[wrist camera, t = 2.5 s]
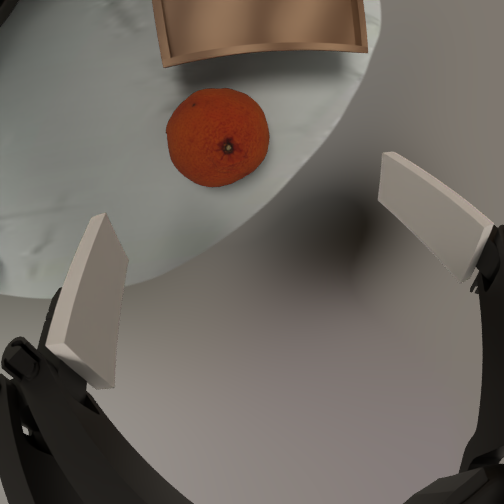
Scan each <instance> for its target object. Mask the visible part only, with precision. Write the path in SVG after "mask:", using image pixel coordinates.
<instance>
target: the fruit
mask: <svg viewBox="0 0 504 504" xmlns="http://www.w3.org/2000/svg"><path fill="white" fill-rule="evenodd" d="M166 133H167V140H168V148H169V153H170V157H171V160H172V162H173V164H174V166H175V167H176V168H177V169H178V171H179V172H180V173H182V174H183V175H184V176H185V177H187V178H188V179H190V180H191V181H193V182H194V183H197V184H199V185H202V186H206V187H220V186H224V185H229V184H232V183H234V182H236V181H238V180H240V179H242V178H243V177H245V176H247V175H249V174H250V173H251V172H253V171H254V170H255V169H256V168H257V167H258V166H259V165H260V164H261V162H262V161H263V160H264V158H265V156H266V154H267V151H268V145H269V138H270V137H269V130H268V125H267V121H266V118H265V115H264V112H263V111H262V109H261V108H260V106H259V105H258V104H257V103H256V102H255V101H254V100H253V99H252V98H251V97H249V96H248V95H246V94H244V93H242V92H239V91H236V90H232V89H229V88H222V89H213V88H211V89H203V90H199V91H197V92H195V93H193V94H192V95H190V96H189V97H188V98H187V99H186V100H184V101H183V102H182V103H181V104H180V105H179V106H178V107H177V108H176V110H175V111H174V112H173V114H172V116H171V118H170V119H169V121H168V124H167V127H166Z"/></svg>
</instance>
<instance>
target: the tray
mask: <svg viewBox="0 0 504 504" xmlns="http://www.w3.org/2000/svg"><path fill="white" fill-rule="evenodd" d="M152 4H153V10H154V17H155V23H156V29H157V35H158V41H159V47H160V52H161V58H162V63H163V68H167V67H171V66H176V65H180V64H184V63H189V62H194V61H199V60H204V59H210V58H216V57H222V56H229V55H237V54H246V53H256V52H269V51H292V50H318V51H340V52H354V53H368V43H367V31H366V21H365V12H364V4H363V0H152Z"/></svg>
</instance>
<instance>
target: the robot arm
mask: <svg viewBox="0 0 504 504" xmlns="http://www.w3.org/2000/svg"><path fill="white" fill-rule="evenodd" d="M18 1H19V0H0V26H1V25H2V24H3V22H4V21H5V20H6V18H7V17H8V16H9V14H10V13H11V12H12V10H13V9H14V7H15V6H16V4H17V2H18ZM378 201H380V203H382V204H383V205H384V206H385V207H386V208H387V209H388V210H389V211H390V212H391V213H393V214H394V215H395V216H396V217H397V218H398V219H399V220H400V221H401V222H402V223H403V224H404V225H405V226H406V227H407V228H408V229H410V231H411V232H412V233H413V234H414V235H415V236H416V237H417V238H418V239H419V240H420V241H421V242H422V243H423V244H424V245H425V246H426V247H427V248H428V249H429V250H430V251H431V252H432V253H433V254H434V255H435V256H436V257H437V258H438V260H440V262H441V263H442V264H443V265H444V266H445V267H446V268H447V269H448V271H449V272H450V273H451V274H452V275H453V276H454V277H455V279H456V280H457V281H458V282H459V283H462V282H464V281H465V280H468V279H469V278H470V277H471V275H472V273H473V271H474V269H475V267H477V269H478V270H479V273H478V275H477V277H476V279H475V280H474V283H473V284H472V286H471V288H470V292H473V290H474V288H475V286H478V288H477V290H476V291H475V293H476V294H479V299H480V310H481V322H482V342H483V343H482V345H483V364H482V387H481V399H480V408H479V416H478V424H477V428H476V432H475V434H474V435H473V437H472V438H471V439H470V441H469V442H468V444H467V446H466V448H465V451H464V454H463V458H462V463H461V466H460V470H459V473H458V474H456V475H453V476H449V477H445V478H439V479H437V480H436V481H434V482H433V483H431V484H430V485H428V486H427V487H425V488H424V489H422V490H421V491H419V492H417V493H415V494H414V495H413V496H412V497H410V498H409V499H408V500H407V501H406V502H405V503H403V504H504V464H499V462H500V461H501V459H502V458H503V457H504V225H500V226H499V228H497V227H496V226H495V225H494V223H493V222H492V221H490V220H489V219H488V218H487V217H486V216H485V215H483V214H482V213H481V212H480V211H479V210H477V209H476V208H475V207H474V206H473V205H471V204H470V203H469V202H468V201H466V200H465V199H464V198H462V197H461V196H460V195H458V194H457V193H456V192H454V191H453V190H452V189H450V188H449V187H448V186H446V185H445V184H443V183H442V182H440V181H439V180H438V179H436V178H435V177H433V176H432V175H430V174H429V173H427V172H426V171H424V170H423V169H421V168H420V167H418V166H417V165H415V164H414V163H412V162H410V161H409V160H407V159H405V158H404V157H402V156H400V155H399V154H397V153H395V152H384V153H382V165H381V176H380V186H379V194H378ZM128 261H129V260H128V258H127V256H126V254H125V252H124V250H123V248H122V246H121V244H120V242H119V240H118V237H117V235H116V233H115V231H114V229H113V227H112V225H111V223H110V220H109V218H108V216H107V214H106V213H103V214H100V215H97V216H94V217H91V220H90V222H89V224H88V226H87V228H86V230H85V232H84V235H83V237H82V239H81V241H80V244H79V246H78V248H77V251H76V253H75V255H74V258H73V260H72V263H71V265H70V268H69V271H68V273H67V276H66V279H65V281H64V284H63V287H61V288H59V289H58V291H57V292H56V294H55V295H54V297H53V298H52V301H51V304H50V307H49V312H48V313H47V316H46V321H45V323H44V326H43V330H42V333H41V337H40V341H39V345H38V349H35V348H34V347H33V346H32V345H31V344H30V343H29V342H28V341H27V340H26V339H25V338H24V337H17V338H15V339H13V340H12V341H11V342H10V343H9V344H8V346H7V347H6V348H5V351H4V353H3V356H2V361H1V365H2V369H4V370H5V371H6V372H7V373H8V374H9V375H11V376H12V377H13V379H11V380H9V379H8V378H6V377H5V376H4V375H3V374H0V478H1V482H2V485H3V488H4V491H5V494H6V497H7V500H8V503H9V504H193V503H192V502H191V501H189V500H188V499H187V498H186V497H184V496H183V495H182V494H181V493H180V492H179V491H178V490H176V489H175V488H174V487H173V486H172V485H171V484H169V483H168V482H167V481H166V480H165V479H164V478H163V477H162V476H161V475H160V474H159V473H158V472H157V471H156V470H154V469H153V468H152V467H151V466H150V465H149V464H148V463H147V462H146V461H145V460H144V459H143V458H142V456H140V454H139V453H138V452H137V451H136V450H135V449H134V448H133V447H132V446H131V445H130V443H129V442H128V441H127V440H126V439H125V438H124V437H123V436H122V434H121V433H120V432H119V431H118V430H117V429H116V427H115V426H114V425H113V423H112V422H111V421H110V420H109V418H108V417H107V416H106V415H105V413H104V412H103V411H102V409H101V408H100V407H99V405H98V404H97V403H96V401H95V400H94V398H93V397H92V396H91V395H90V394H89V393H88V392H87V391H86V385H87V383H89V384H90V385H91V386H93V387H94V388H95V389H109V388H114V387H115V367H116V352H117V351H116V350H117V340H118V329H119V320H120V312H121V303H122V297H123V290H124V284H125V278H126V272H127V266H128ZM22 426H24V427H26V428H27V429H28V431H29V435H26V434H24V433H23V429H22Z"/></svg>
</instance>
